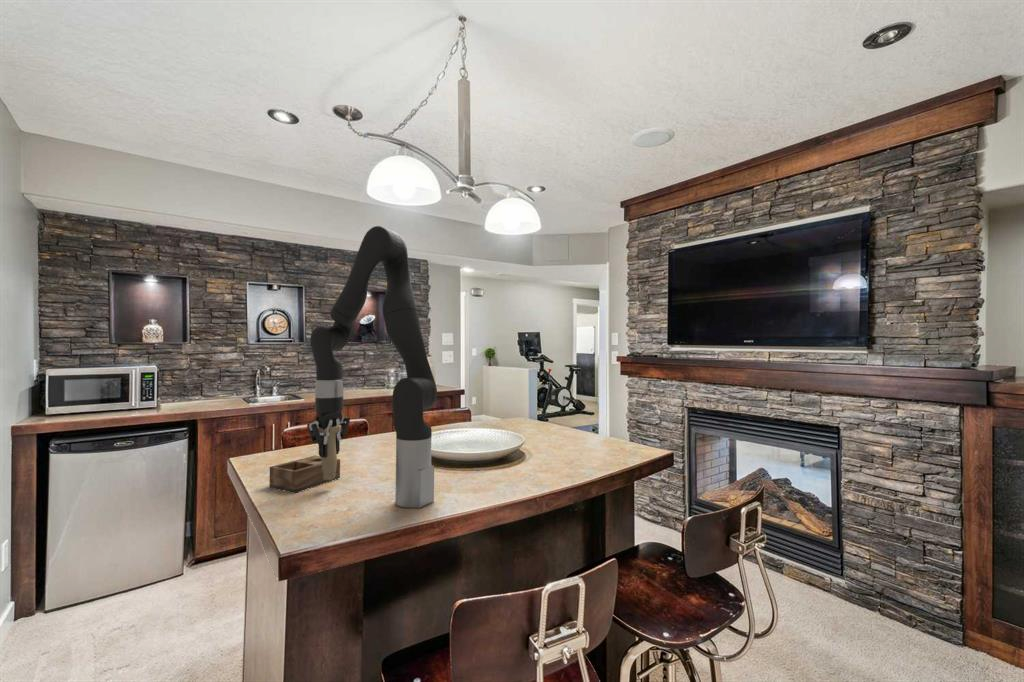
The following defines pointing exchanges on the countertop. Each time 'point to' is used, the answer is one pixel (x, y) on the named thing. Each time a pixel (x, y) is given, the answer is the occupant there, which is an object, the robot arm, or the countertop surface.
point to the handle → (330, 453)
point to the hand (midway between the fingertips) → (329, 455)
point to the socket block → (299, 474)
